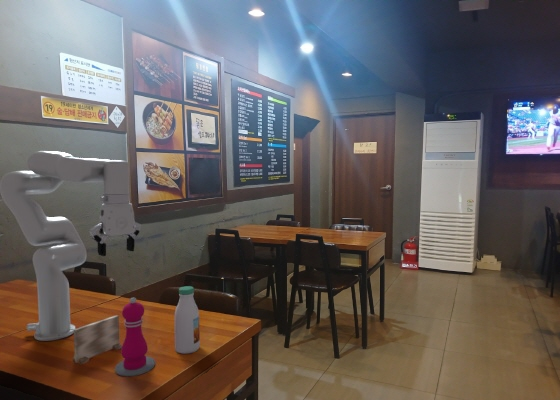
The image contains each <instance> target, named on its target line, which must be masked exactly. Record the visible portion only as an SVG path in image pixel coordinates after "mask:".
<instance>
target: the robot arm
mask: <svg viewBox="0 0 560 400" xmlns="http://www.w3.org/2000/svg"><path fill="white" fill-rule="evenodd" d="M26 166H27V168H28V169H29V170H16V171H10V172H7V173H5V174H4V175H3V176H2V177H1V179H0V196H1V199H2V200H3V202H4V204H5V205H6V206H7V208H8V209H9V210H10V211H11V213H12V214H13V216H14V218H15V220H16V222H17V224H18V226H19V227H20V230H21V231H22V233H23V236H24V238H25V239H26V241H27V243H28V244H30V245H31V246H35V247H38V246H39V247H40V248H38V249H37V250H36V251H35V252H34V253H33V255H32V265H33V269H34V273H35V276H36V285H37V286H36V288H37V303H38V304H37V305H38V322H36V323H34V322H33V323H27V325H26V329H27V332H32V331H34V339H35V340H37V341H41V342H45V341H46V342H49V341H56V340H61V339H64V338H67V337H69V336H71V335H74V329H76V328H77V327H76V325H74V324H71V306H70V305H71V304H70V284H69V280H68V277H66V275H65V274H64V272H63V271H65V270H68V269H72V268H76V267H80V266H81V265H83V264H84V263H85V262H86V260H87V256H88V254H87V253H88V252H87V249H86V246H85V244H84V242H83V241H82V239H81V237H80V234H79V233H78V231H77V229H76V228H75V225H74V224H73V222H72V221H71V220H70V219H69V218H67V217H64V216H54V217H53V216H52V217H49V216H47V215H46V214H45V212H44V210H43V208H42V207H41V205H40V204H39V203H38V202H37V201H36V200H34V199H33V198H31V197H29V196H30V195H47V194H52V193H53V192H54V191H56V190H57V189H58V188H59V187H60V186H61V185H62V184H63V183H64V182H72V183H76V184H77V183H78V184H86V183H87V184H90V183H98V184H99V183H103V193H102V196H100V197H99V201H101V202H103V203H102V204H101V207H100V212H99V218H98V219H99V220H98V223H97V224H96V225H94V226H93V227H91V228H89V230H88V233H89V234H90V236H91V238H92V240H94V241H95V242H96V243H97V254H98V256H101V257H106V256H107V243H106V241H107V239H108V238H113V237H114V238H115V237H122V236H123V237H124V236H126V237H127V238H126V250H127V251H128V252H134V251H135V240H136V239H137V237H138V235H139V234H140V231H141V229H142V227H143V226H142V224H141V223H138V221H137V222H136V221H135V211H134V208H133V207H134V206H133V203H132V202H131V203H130V170H131V167H130V164H129V162H128V161H127V160H118V159H117V160H116V159H114V160H113V159H112V160H110V159H105V158H104V159H102V158H100V159H99V158H83V157H82V158H81V157H80V158H79V157H74V156H73V155H72V154H70V153H66V152H63V151H62V152H61V151H50V150H49V151H48V150H40V151H35V152H32V153H31V154H30V155H29V156H28V157H27V159H26ZM97 232H98V233H99V235H98V234H97Z"/></svg>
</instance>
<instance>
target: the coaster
mask: <svg viewBox="0 0 560 400" xmlns="http://www.w3.org/2000/svg"><path fill="white" fill-rule="evenodd" d="M145 356H146V355H145ZM155 367H156V360H155V358H153V357H151V356H146V364H145V365H144V366H143V367H141V368H139V369H135V370H128V369H125V368H124V366H123V360H121V361H120V362H118V363H117V364H116V365H115V368H114V372H115V373H116V374H117V375H118V376H121V377H136V376H140V375H144V374H146V373H149V372H151V370H153V368H155Z"/></svg>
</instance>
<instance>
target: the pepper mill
mask: <svg viewBox="0 0 560 400" xmlns="http://www.w3.org/2000/svg"><path fill="white" fill-rule="evenodd" d="M121 311H122V312H121V315H122V318H123V319H124V326H125V328H126V329H125V330H126V332H125V338H124V341H123V343H122V344H121V345H122V348H120V349H121V351H120V354H121V356H122V358H123V360H122V361H123V366H124V368H125V369H128V370H135V369H139V368H141V367H143V366H144V365H145V364H146V354H147V353H148V351H149V350H148V343H147V340H146V339H145V337H144V335H143V331H142V325H143V323H144V321H143V319H144V318H143V316H144V314H145V307H144V305H143V304H142V303H140V302H137V298H136V297H130V299H129V302H128V303H127V304H125V305H124V307H123V308H122V310H121Z"/></svg>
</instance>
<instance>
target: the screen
mask: <svg viewBox="0 0 560 400" xmlns="http://www.w3.org/2000/svg"><path fill="white" fill-rule="evenodd" d="M119 316H120V315H117V314H116V315H113V316H110V317H106V318H104V319H102V320H98V321H95V322H92V323H89V324H86V325H83V326H79V327H76V329H74V333H73V343H74V344H73V345H74V355H73V357H72V360H73V361H74V362H75V363H77V364H79V363H80V364H82V365H83V364H86V363H89V362H90V361H89V360H90V359H91V358H93V357H95V356H98V355H101V354H103V353H105V352H108V351H110V350H115V351H117V350H120V349H122V345H123V344H120V343H121V342H120V319H119V318H120V317H119Z"/></svg>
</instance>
